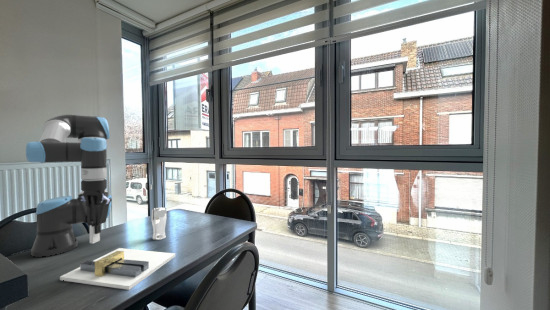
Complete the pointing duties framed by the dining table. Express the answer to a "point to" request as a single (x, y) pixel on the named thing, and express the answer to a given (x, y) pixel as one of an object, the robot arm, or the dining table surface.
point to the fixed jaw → (113, 269)
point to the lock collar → (107, 262)
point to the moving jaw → (133, 263)
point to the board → (118, 280)
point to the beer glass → (159, 223)
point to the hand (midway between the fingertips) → (94, 241)
